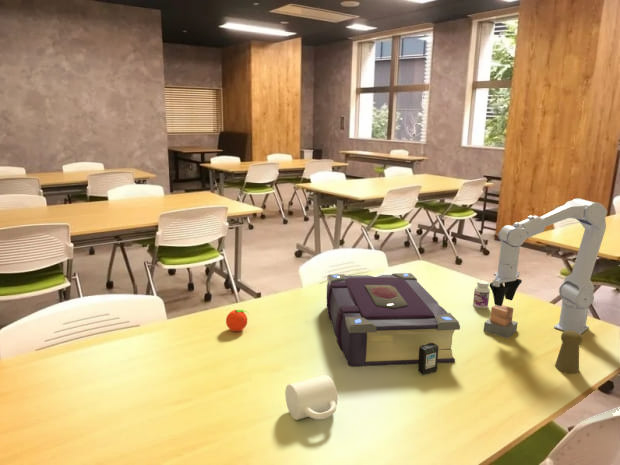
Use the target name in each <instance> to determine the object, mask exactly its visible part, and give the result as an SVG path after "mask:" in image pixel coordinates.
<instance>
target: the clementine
mask: <svg viewBox="0 0 620 465" xmlns="http://www.w3.org/2000/svg"><path fill="white" fill-rule="evenodd" d="M246 313H248V311H246V310H245V309H244V310H243V309H234V310H232V311H229V313H228V314H227V316H226V319H225V323H226V326H227V328H228V329H229V330H231V331H232V332H241V331H242V330H244V329H245V328H246V327H247V324H248V316H247V314H246Z"/></svg>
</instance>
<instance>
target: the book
mask: <svg viewBox="0 0 620 465" xmlns="http://www.w3.org/2000/svg"><path fill="white" fill-rule="evenodd" d="M326 281H327V283H326V284H327V285H326V310H327V315H328V319H329V321H330V322H331V325H332V330H333V334H334V336H335V337H336V338H335V339H336V343H337V345H338V346H337V347H339V349H340V351H341V352H342V354H343V356H344V358H345V361H346V363H347V366H349V367H353V368H355V367H373V366H374V367H375V366H376V367H377V366H379V367H380V366H401V365H403V366H404V365H418V361H419V348H420V346H422V345H426V344H428V343H434V344H436V345H437V346H439V347H438V361H437V364H442V363H443V364H446V363H448V364H449V363H455V362H456V359H455V357H454V355H453V350H452V345H453V344H452V343H453V335H454V333H455V331H459V330H460V329H461V324H460V321H459V320H458V319H456V317H455V316H454V315H452V313H450V312H447V310H446V309H445V308H443V307H442V306H441V305H440V304H439V302H438V301H437V299H435V298H434V297H433V296H432V295H431V293H429V292H428V291H427V290H426V289H425V288H424V287H423V286H422V284H420V283H419V281H418V279H417V278H416V276H414V274H413V273H411V272H409V273H406V272H404V273H401V272H399V273H392V274H381V275H378V276H372V275H368V274H362V275H361V274H359V275H358V274H357V275H345V274H344V273H343V274H341V273H339V274H336V273H335V274H327V278H326Z"/></svg>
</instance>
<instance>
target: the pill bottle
mask: <svg viewBox="0 0 620 465" xmlns="http://www.w3.org/2000/svg"><path fill="white" fill-rule="evenodd" d="M476 284H477V285H476V286H475V287H474V292H473V302H472V306H474V307H475V308H477V309H487V308H488V307H489V300H490V294H491V293H490V292H491V291H490V290H491V288H489V287H490V283H489V281H485V280H477V283H476Z"/></svg>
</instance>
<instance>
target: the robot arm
mask: <svg viewBox="0 0 620 465" xmlns="http://www.w3.org/2000/svg"><path fill="white" fill-rule="evenodd" d="M607 215H608V210H607V208H605V206H604V205H603V204H602V203H600V202H594V201H590V200H587V199H583V198H579V197H577V198H574V199H572V200H568V201H566V203H565V204H563V205H561V206H559V207H557V208H555V209H554V210H551V211H549V212H548V213H545V214H544V215H541V216H538V215H529V216H527V218H526V219H523V220H521V221H519V222H518V221H516V222H514V223H513V224H512V225H511V224H510V225H509V224H508V225H504V226H502V228H501V229H500V231H499V232H498V233H497V236H498V239H499V241H500V248H499V256H498V257H499V258H498V263H497V264H498V267H497V272H494V273H493V276H495V278H494V279H493V280H492V282H490V283H489V287H490V288H489V289H490V290H491V291H492V295H493V301H494V302H493V303H494V306H495V305H498V306H502V305H504V304H503V303H504V300H508V301H513V300H514V297H515V294H516V292H517V290H518V288H519V286H520V285H521V284H522V283H523V282H522V281H523V280H522V279H520V271H518V267H519V258H520V249H521V246H522V245H523V244H524V242H526V240H527V239H529V238H532V237H534V236H537V235H539V234H541V233H543V232H544V231H545V229H546V227H548V226H551V225H553V224H556V223H559V222H562V221H564V220H567V219H575V220H577V221H578V222H579V223H580V224H581V225H582V227H583V229H584V231H583V235H582V238H581V241H580V244H579V248H578V252H577V254H576V257H575V258H576V259H575V262H574V265H573V267H572V271H571V274H569V275H567V276H565V278H564V280H563V282H562V284H560V286H559V288H558V293H559V295H560V297H561V302H562V303H561V309H560V316H559V322H558V323H556V324H555V325H554V327H553V328H554V329H557V330H560V331H563V332H564V331H575V332H577V333H579V334H580V335H583V333H584V332H586V331H587V330H588V329H589V328H590V326H588V325H587V319H588V315H589V307H590V306H591V305H592V303H594V299H595V296H594V291H595V285H594V284H593V282H592V280H591V278H592V273H593V271H594V268H595V265H596V261H597V258H598V255H599V252H600V248H601V246H602V245H601V244H602V242H603V239H604V235H605V232H606V229H607V223H606V217H607Z"/></svg>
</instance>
